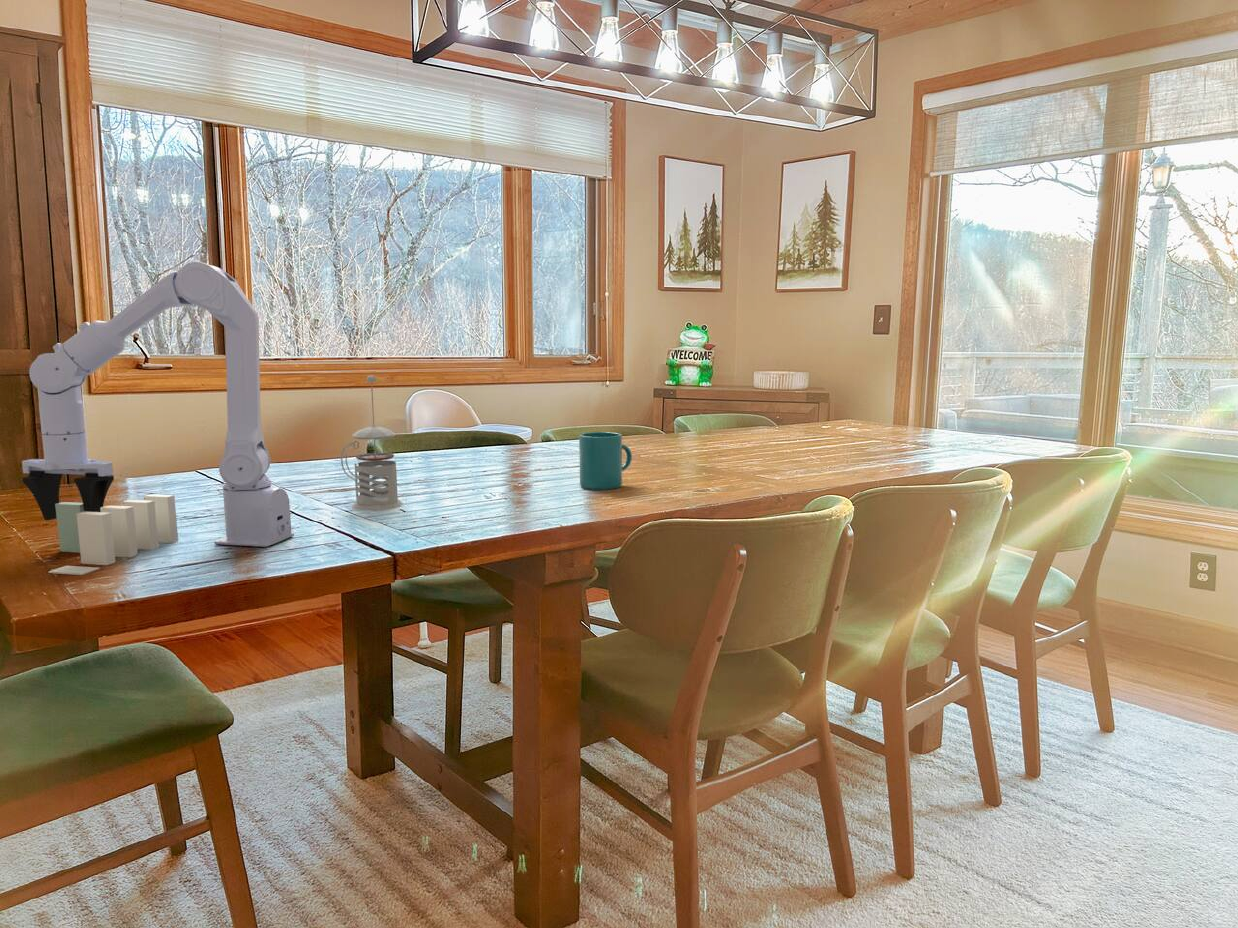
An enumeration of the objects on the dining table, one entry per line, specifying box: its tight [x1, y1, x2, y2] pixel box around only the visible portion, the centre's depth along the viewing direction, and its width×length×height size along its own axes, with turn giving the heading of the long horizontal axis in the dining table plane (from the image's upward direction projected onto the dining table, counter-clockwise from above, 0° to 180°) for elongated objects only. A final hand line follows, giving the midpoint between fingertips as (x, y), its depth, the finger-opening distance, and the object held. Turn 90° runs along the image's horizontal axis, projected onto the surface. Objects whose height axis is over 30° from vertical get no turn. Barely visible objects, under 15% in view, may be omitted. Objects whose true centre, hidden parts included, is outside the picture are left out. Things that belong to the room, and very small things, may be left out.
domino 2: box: [77, 512, 116, 566], centre depth 131 cm, size 2×4×8 cm, turn 78°
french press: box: [340, 375, 404, 512], centre depth 170 cm, size 10×12×25 cm
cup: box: [578, 431, 633, 491], centre depth 190 cm, size 9×12×11 cm
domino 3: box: [100, 505, 139, 558], centre depth 135 cm, size 2×4×8 cm, turn 78°
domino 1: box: [55, 501, 84, 553], centre depth 138 cm, size 2×4×8 cm, turn 78°
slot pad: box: [48, 565, 101, 576], centre depth 127 cm, size 6×3×1 cm, turn 78°
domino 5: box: [143, 494, 179, 544], centre depth 144 cm, size 2×4×8 cm, turn 78°
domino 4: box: [122, 499, 159, 551], centre depth 139 cm, size 2×4×8 cm, turn 78°
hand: (72, 520), depth 138 cm, fingers open, 7 cm apart
